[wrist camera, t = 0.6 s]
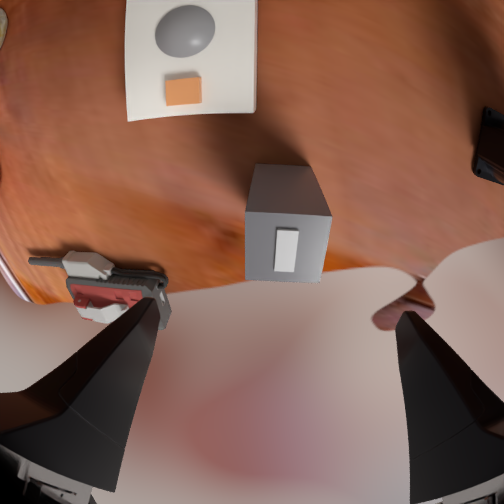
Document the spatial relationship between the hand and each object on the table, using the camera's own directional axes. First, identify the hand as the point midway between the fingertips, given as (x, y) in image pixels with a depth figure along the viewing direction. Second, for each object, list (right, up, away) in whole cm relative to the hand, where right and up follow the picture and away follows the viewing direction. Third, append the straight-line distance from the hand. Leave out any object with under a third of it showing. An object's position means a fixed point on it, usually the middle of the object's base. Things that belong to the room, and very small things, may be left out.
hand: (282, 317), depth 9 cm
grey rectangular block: (+1, +7, +11) cm, 13 cm away
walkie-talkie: (-19, -1, +19) cm, 26 cm away
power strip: (-5, +23, 0) cm, 23 cm away
